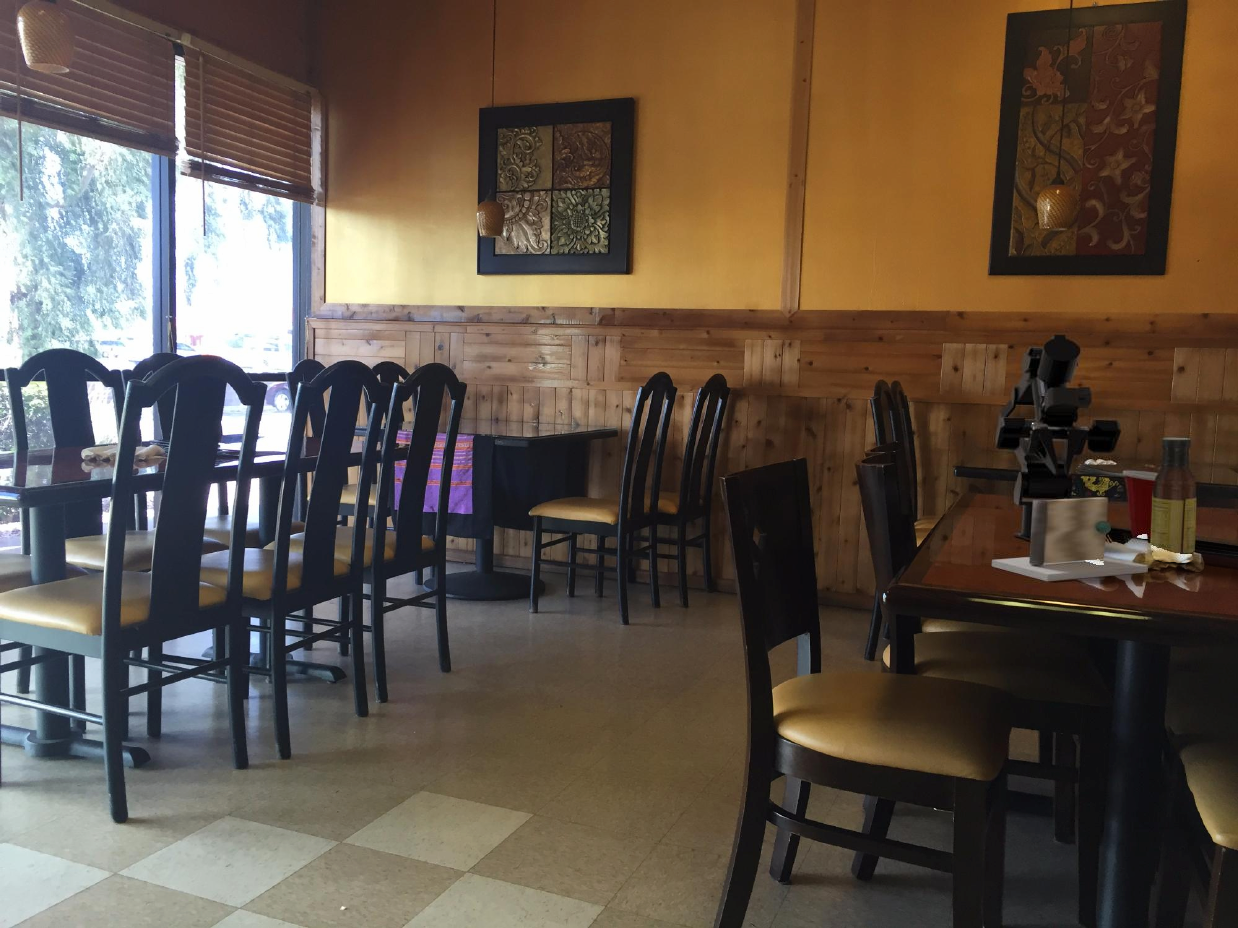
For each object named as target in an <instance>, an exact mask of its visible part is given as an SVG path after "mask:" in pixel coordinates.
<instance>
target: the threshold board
mask: <svg viewBox="0 0 1238 928" xmlns="http://www.w3.org/2000/svg"><path fill="white" fill-rule="evenodd" d="M1029 559H1030V556H1028V557H1027V556H1026V557H1024V556H1023V557H1014V558H1002V559H992V560H991V567H993V568H997V569H1001V570H1005V571H1007V572H1012V573H1016V574H1019V575H1023V576H1026V577H1030V578H1034V579H1037V580H1041V581H1045V582H1053V581H1054V582H1055V581H1056V582H1057V581H1065V580H1077V579H1078V580H1079V579H1086V578H1089V579H1090V578H1097V577H1099V578H1100V577H1110V576H1119V575H1122V576H1123V575H1131V574H1142V573H1148V570H1149V569H1148V567H1149V566H1148V565H1147V564H1142V563H1137V562H1133V561H1130V560H1126V559H1125V560H1124V559H1119V558H1116V557H1115V558H1114V557H1111V556H1106V555H1104V559H1099V560H1100V561H1104V562H1103V563H1104V565H1096V564H1093V563H1090V562H1086V561H1072V562H1060V563H1048V564H1043V565H1034V564H1030V563H1029Z"/></svg>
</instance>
